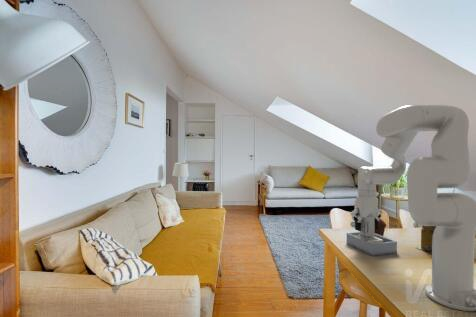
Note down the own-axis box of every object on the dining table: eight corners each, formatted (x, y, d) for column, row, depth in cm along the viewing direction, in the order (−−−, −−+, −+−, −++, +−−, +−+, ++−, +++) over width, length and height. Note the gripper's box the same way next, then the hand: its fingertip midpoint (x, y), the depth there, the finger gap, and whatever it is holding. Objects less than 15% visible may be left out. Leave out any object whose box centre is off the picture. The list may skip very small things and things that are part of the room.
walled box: (396, 253, 110) (397, 241, 110) (372, 256, 106) (372, 244, 106) (368, 240, 125) (368, 230, 125) (346, 243, 122) (346, 233, 122)
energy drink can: (357, 244, 118) (358, 212, 118) (363, 241, 122) (363, 210, 122) (371, 247, 114) (371, 214, 114) (376, 244, 118) (376, 212, 118)
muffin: (356, 234, 136) (356, 215, 135) (371, 231, 140) (371, 214, 140) (376, 241, 125) (376, 221, 125) (391, 238, 129) (391, 219, 129)
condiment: (428, 246, 118) (429, 221, 117) (446, 253, 109) (447, 226, 109) (415, 247, 116) (415, 222, 116) (432, 255, 108) (433, 227, 108)
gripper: (375, 191, 124) (375, 225, 124) (345, 192, 119) (345, 228, 119) (388, 193, 117) (387, 230, 117) (357, 195, 112) (356, 233, 112)
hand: (366, 229), depth 118 cm, fingers open, 9 cm apart
